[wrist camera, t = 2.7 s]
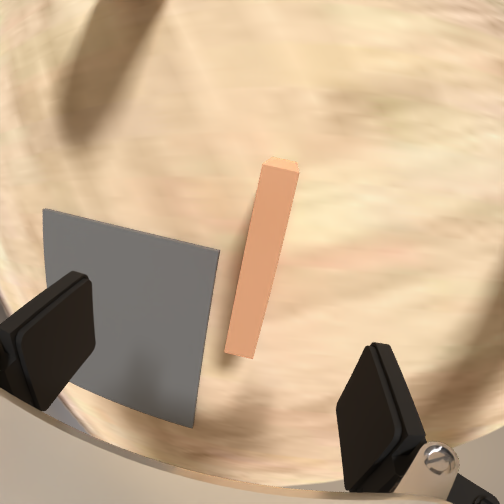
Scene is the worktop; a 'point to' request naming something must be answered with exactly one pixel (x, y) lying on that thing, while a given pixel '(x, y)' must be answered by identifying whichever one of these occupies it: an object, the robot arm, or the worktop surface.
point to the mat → (138, 311)
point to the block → (261, 254)
